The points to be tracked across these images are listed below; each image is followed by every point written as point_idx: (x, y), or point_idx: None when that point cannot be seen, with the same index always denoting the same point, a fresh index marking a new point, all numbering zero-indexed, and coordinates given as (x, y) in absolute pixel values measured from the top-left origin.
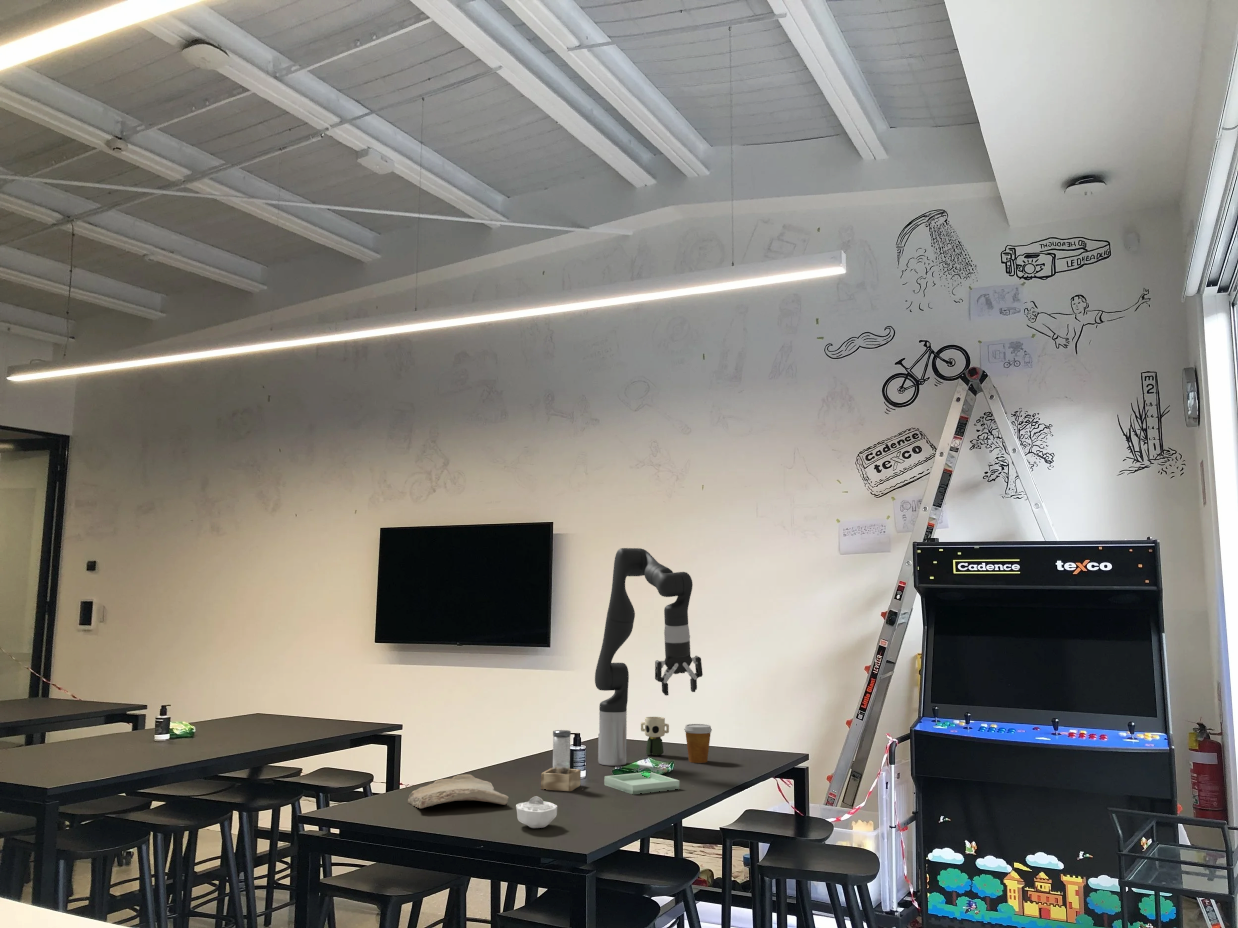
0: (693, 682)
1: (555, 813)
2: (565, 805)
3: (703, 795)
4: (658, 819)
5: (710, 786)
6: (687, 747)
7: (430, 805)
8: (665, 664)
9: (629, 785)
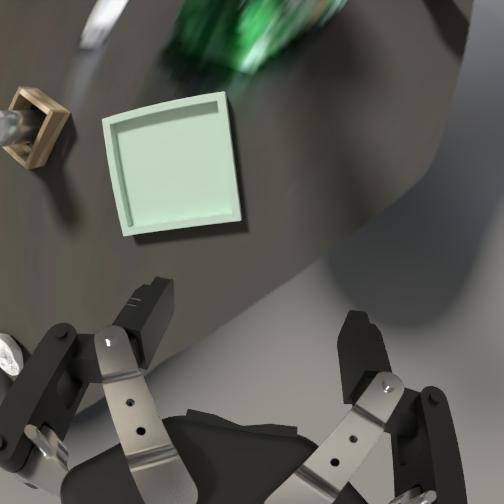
0: (347, 388)
1: (21, 369)
2: (28, 269)
3: (257, 286)
4: None
5: (321, 213)
6: None
7: None
8: (83, 469)
9: (121, 223)
